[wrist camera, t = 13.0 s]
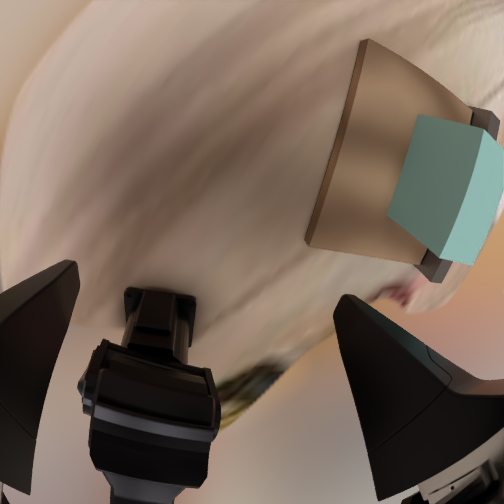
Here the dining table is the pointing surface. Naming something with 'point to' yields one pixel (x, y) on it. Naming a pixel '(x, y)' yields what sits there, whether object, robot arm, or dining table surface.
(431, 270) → the price rail
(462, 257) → the teal carton
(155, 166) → the dining table surface
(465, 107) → the shelf board
